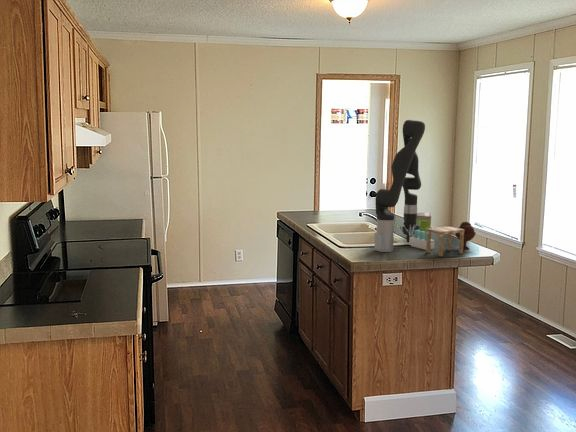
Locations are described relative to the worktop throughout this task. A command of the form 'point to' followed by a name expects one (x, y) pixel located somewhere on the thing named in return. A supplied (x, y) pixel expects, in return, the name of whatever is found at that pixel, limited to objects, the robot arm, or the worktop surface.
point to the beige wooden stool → (443, 231)
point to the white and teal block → (420, 240)
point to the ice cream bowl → (466, 233)
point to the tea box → (423, 221)
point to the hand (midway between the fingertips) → (409, 242)
